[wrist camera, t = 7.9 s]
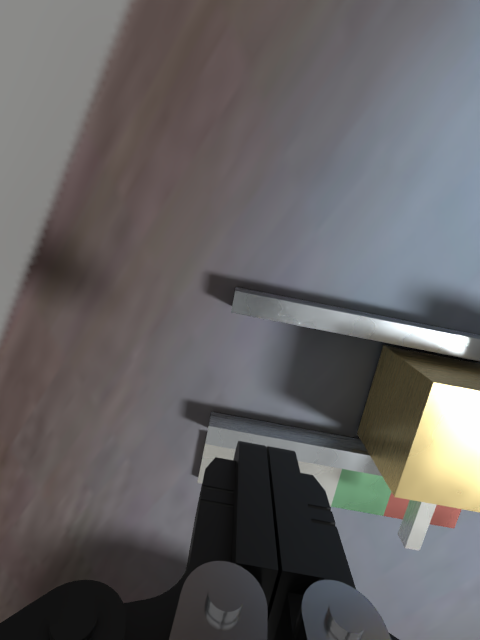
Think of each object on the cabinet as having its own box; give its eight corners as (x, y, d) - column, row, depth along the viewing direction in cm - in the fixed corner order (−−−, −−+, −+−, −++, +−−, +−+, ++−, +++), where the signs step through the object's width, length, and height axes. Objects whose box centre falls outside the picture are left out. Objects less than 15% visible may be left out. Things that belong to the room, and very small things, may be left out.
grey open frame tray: (235, 286, 17) (232, 310, 12) (564, 351, 18) (718, 405, 12) (198, 477, 20) (179, 577, 14) (490, 530, 20) (589, 646, 15)
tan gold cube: (383, 344, 18) (433, 382, 13) (479, 363, 18) (561, 407, 13) (340, 489, 20) (370, 567, 15) (427, 505, 20) (484, 587, 15)
